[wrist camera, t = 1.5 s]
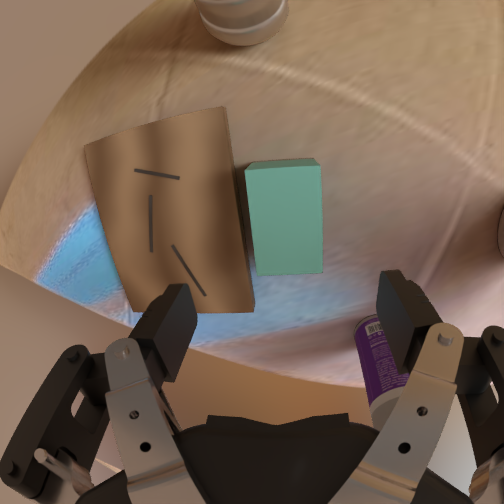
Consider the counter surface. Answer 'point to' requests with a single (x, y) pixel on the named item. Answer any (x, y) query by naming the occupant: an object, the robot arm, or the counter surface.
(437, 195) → the counter surface
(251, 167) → the block
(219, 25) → the plastic bottle
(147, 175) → the oak board
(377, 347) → the container
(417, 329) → the robot arm
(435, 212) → the counter surface
